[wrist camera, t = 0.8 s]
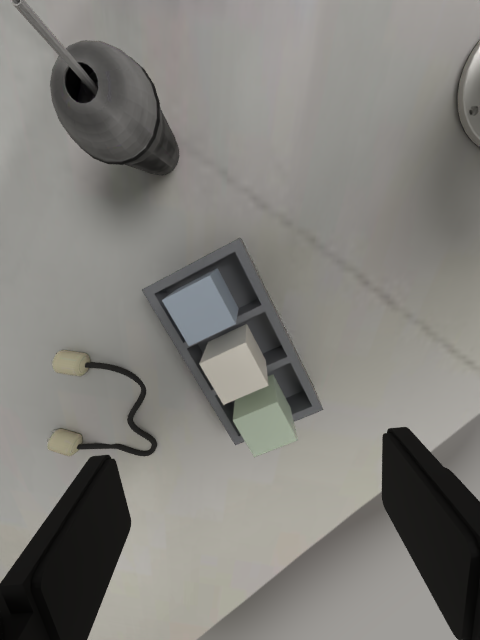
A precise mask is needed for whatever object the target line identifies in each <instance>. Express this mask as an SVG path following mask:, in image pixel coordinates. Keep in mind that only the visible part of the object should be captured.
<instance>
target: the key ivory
mask: <svg viewBox="0 0 480 640" xmlns="http://www.w3.org/2000/svg"><path fill="white" fill-rule="evenodd" d="M199 364H200V366H201V368H202V369H203V371H204V373H205V375H206V376H207V378H208V380H209V381H210V383H211V385H212V386H213V388H214V390H215V391H216V393H217V395H218V397H219V398H220V400H221V402H222V403H223V405H224V404H227V403H229V402H231V401H234V400H236V399H238V398H241V397H243V396H245V395H248V394H250V393H252V392H255V391H257V390H259V389H262V388H264V387H266V386H269V385H268V376H267V367H266V360H265V358H264V356H263V354H262V352H261V350H260V348H259V346H258V344H257V342H256V341H255V339H254V337H253V335H252V333H251V331H250V329H249V327H248V325H247V324H245V325H243V326H241V327H239V328H236V329H234V330H232V331H230V332H228V333H226V334H224V335H222V336H220V337H218V338H215V339H213V340H211V341H209V342H208V344H207V346H206V349H205V351H204V353H203V356H202V358H201V361H200V363H199Z"/></svg>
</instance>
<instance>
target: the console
mask: <svg viewBox="0 0 480 640" xmlns="http://www.w3.org/2000/svg"><path fill="white" fill-rule="evenodd" d="M217 268H218V270H219V272H220V274H221V276H222V277H223V279H224V281H225V283H226V285H227V287H228V289H229V291H230V293H231V295H232V297H233V298H234V300H235V302H236V304H237V306H238V308H239V309H238V315H237V320H236V324H235V325H233V326H231V327H229V328H226V329H224V330H222V331H220V332H218V333H216V334H214V335H212V336H210V337H208V338H206V339H203V340H201V341H199V342H197V343H195V344H193V345H191V346H188V344H187V342H186V341H185V339H184V337H183V336H182V334H181V332H180V330H179V329H178V327H177V325H176V324H175V322H174V320H173V319H172V317H171V315H170V313H169V312H168V310H167V308H166V307H165V305H164V303H163V302H162V300H163V299H164V298H165V297H167V296H168V295H170V294H171V293H172V292H174V291H175V290H177V289H178V288H180V287H182V286H184V285H186V284H188V283H190V282H192V281H194V280H195V279H197V278H199V277H201V276H203V275H205V274H207V273H209V272H211V271H213V270H215V269H217ZM142 291H143V293H144V295H145V296H146V298H147V300H148V301H149V303H150V305H151V306H152V308H153V309H154V311H155V313H156V314H157V316H158V318H159V319H160V321H161V323H162V324H163V326H164V328H165V329H166V331H167V333H168V334H169V336H170V338H171V339H172V341H173V343H174V344H175V346H176V348H177V349H178V351H179V353H180V354H181V356H182V358H183V359H184V361H185V363H186V364H187V366H188V368H189V369H190V371H191V373H192V374H193V376H194V378H195V379H196V381H197V383H198V384H199V386H200V388H201V389H202V391H203V393H204V394H205V396H206V397H207V399H208V401H209V402H210V404H211V406H212V407H213V409H214V411H215V412H216V414H217V416H218V417H219V419H220V421H221V422H222V424H223V426H224V427H225V429H226V431H227V432H228V434H229V436H230V437H231V439H232V441H233V442H234V444H235V445H237V444H239V443H242V442H244V439H243V437H242V436H241V434H240V432H239V430H238V429H237V427H236V425H235V424H234V422H233V412H234V402H235V400H234V401H231V402H229V403H227V404H224V405H223V403H222V402H221V400H220V398H219V397H218V395H217V393H216V391H215V390H214V388H213V386H212V385H211V383H210V381H209V380H208V378H207V376H206V375H205V373H204V371H203V369H202V368H201V366H200V364H199V363H200V361H201V358H202V356H203V353H204V351H205V349H206V346H207V344H208V342H209V341H211V340H213V339H215V338H218V337H220V336H222V335H224V334H226V333H228V332H230V331H232V330H234V329H236V328H239V327H241V326H243V325H245V324H247V325H248V327H249V329H250V331H251V333H252V335H253V337H254V339H255V341H256V342H257V344H258V346H259V348H260V350H261V352H262V354H263V356H264V358H265V360H266V367H267V376H270V375H272V374H273V375H274V377H275V379H276V381H277V383H278V385H279V386H280V388H281V390H282V392H283V394H284V396H285V398H286V400H287V402H288V404H289V406H290V408H291V412H292V417H293V421H297V420H299V419H302V418H304V417H307V416H309V415H312V414H314V413H317V412H319V411H321V410H323V408H322V405H321V403H320V400H319V398H318V396H317V393H316V391H315V388H314V386H313V384H312V382H311V380H310V378H309V376H308V374H307V372H306V370H305V368H304V366H303V364H302V362H301V360H300V358H299V356H298V354H297V352H296V350H295V347H294V345H293V343H292V341H291V339H290V337H289V335H288V333H287V331H286V329H285V327H284V325H283V323H282V321H281V319H280V317H279V315H278V313H277V311H276V309H275V307H274V305H273V303H272V300H271V298H270V296H269V294H268V292H267V290H266V288H265V286H264V284H263V282H262V280H261V278H260V276H259V274H258V272H257V270H256V268H255V266H254V264H253V262H252V260H251V258H250V255H249V253H248V251H247V249H246V247H245V245H244V243H243V241H242V239H241V238H238V239H237V240H235V241H233V242H231V243H229V244H227V245H225V246H223V247H221V248H220V249H218V250H216V251H214V252H212V253H210V254H208V255H206V256H205V257H203V258H201V259H199V260H197V261H195V262H193V263H191V264H189V265H188V266H186V267H184V268H182V269H180V270H178V271H176V272H174V273H172V274H171V275H169V276H167V277H165V278H163V279H161V280H159V281H157V282H155V283H154V284H152V285H150V286H148V287H146V288H144V289H142Z"/></svg>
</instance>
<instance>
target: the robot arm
mask: <svg viewBox="0 0 480 640" xmlns="http://www.w3.org/2000/svg"><path fill="white" fill-rule="evenodd" d="M458 112H459V117H460V121H461V124H462V126H463V128H464V130H465V132H466V134H467V135H468V136H469V138H470V139H471V140H472V141H473V142H474V143H475V144H476V145H478V146H479V147H480V41H479V42H478V44H477V45H476V47H475V48H474V49H473V51H472V52H471V54H470V56H469V58H468V60H467V62H466V64H465V67H464V69H463V72H462V76H461V79H460V82H459V89H458ZM382 500H383V505H384V507H385V509H386V511H387V513H388V515H389V517H390V519H391V521H392V522H393V524H394V526H395V528H396V530H397V532H398V533H399V535H400V537H401V539H402V541H403V543H404V545H405V546H406V548H407V550H408V552H409V554H410V556H411V557H412V559H413V561H414V563H415V565H416V566H417V568H418V570H419V572H420V574H421V576H422V578H423V579H424V581H425V583H426V585H427V587H428V588H429V590H430V592H431V594H432V596H433V598H434V600H435V601H436V603H437V605H438V607H439V609H440V611H441V612H442V614H443V616H444V618H445V620H446V622H447V623H448V625H449V627H450V629H451V631H452V632H453V634H454V635H455V637H456V638H457V639H458V640H480V502H479V501H478V499H476V497H475V496H474V495H473V494H472V493H471V492H470V491H469V490H468V489H467V488H466V487H465V485H464V484H462V482H461V481H460V480H459V479H458V478H457V477H456V476H455V475H454V474H453V473H452V472H451V471H450V470H449V469H447V468H445V467H443V466H442V465H441V464H440V462H439V461H438V460H437V459H436V458H435V457H434V456H433V455H432V454H431V453H430V451H429V450H428V449H427V448H426V447H425V446H424V445H423V444H422V443H421V442H420V440H419V439H418V438H417V437H416V436H415V435H414V434H413V433H412V432H411V431H410V429H408V428H407V427H400V428H390V429H388V431H387V433H385V434H383V448H382ZM130 527H131V517H130V514H129V510H128V506H127V502H126V498H125V494H124V491H123V487H122V483H121V479H120V475H119V471H118V467H117V464H116V461H115V459H111V457H110V456H109V455H101V456H92V457H90V459H89V460H88V461H87V462H86V464H85V465H84V467H83V468H82V469H81V471H80V472H79V474H78V475H77V476H76V478H75V479H74V481H73V482H72V483H71V485H70V486H69V488H68V489H67V491H66V492H65V493H64V495H63V496H62V498H61V499H60V500H59V502H58V503H57V505H56V506H55V507H54V509H53V510H52V512H51V513H50V514H49V516H48V517H47V519H46V520H45V521H44V523H43V524H42V526H41V527H40V528H39V530H38V531H37V533H36V534H35V535H34V537H33V538H32V540H31V541H30V542H29V544H28V545H27V547H26V548H25V549H24V551H23V552H22V554H21V555H20V557H19V558H18V559H17V561H16V562H15V564H14V565H13V566H12V568H11V569H10V571H9V572H8V573H7V575H6V576H5V578H4V579H3V580H2V582H1V583H0V640H87V639H88V636H89V633H90V631H91V628H92V626H93V623H94V621H95V618H96V616H97V613H98V610H99V608H100V605H101V603H102V600H103V598H104V595H105V593H106V590H107V587H108V585H109V582H110V580H111V577H112V575H113V572H114V569H115V567H116V564H117V562H118V559H119V557H120V554H121V552H122V549H123V546H124V544H125V541H126V539H127V536H128V534H129V531H130Z"/></svg>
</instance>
